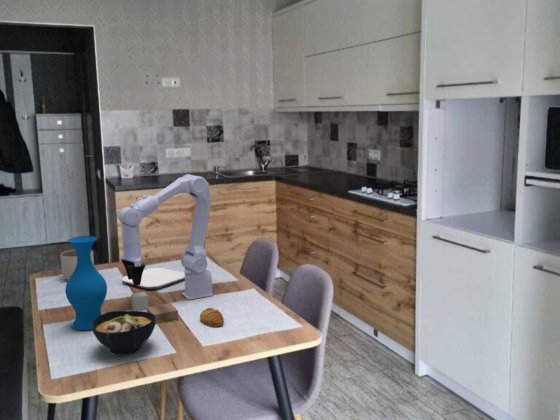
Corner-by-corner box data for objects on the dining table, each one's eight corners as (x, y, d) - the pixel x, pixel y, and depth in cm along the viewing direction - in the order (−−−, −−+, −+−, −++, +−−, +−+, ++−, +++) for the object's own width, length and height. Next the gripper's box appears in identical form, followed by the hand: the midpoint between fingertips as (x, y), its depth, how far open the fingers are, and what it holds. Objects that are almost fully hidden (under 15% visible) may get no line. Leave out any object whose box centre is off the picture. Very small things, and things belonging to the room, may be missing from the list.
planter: (72, 273, 228) (70, 248, 226) (100, 274, 226) (98, 249, 224) (56, 282, 216) (54, 256, 214) (85, 283, 214) (83, 257, 212)
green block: (145, 305, 190) (144, 291, 189) (148, 309, 186) (147, 295, 185) (132, 307, 187) (131, 293, 187) (135, 311, 184) (134, 297, 183)
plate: (157, 271, 231) (156, 266, 231) (191, 279, 219) (191, 274, 219) (117, 283, 215) (116, 278, 214) (152, 293, 203) (152, 287, 202)
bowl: (120, 333, 165) (118, 302, 163) (168, 342, 159) (167, 309, 157) (80, 356, 150) (77, 322, 148) (131, 367, 143) (129, 331, 141)
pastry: (229, 325, 171) (228, 314, 170) (209, 330, 168) (209, 318, 167) (216, 316, 179) (216, 305, 178) (197, 320, 175) (197, 309, 175)
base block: (171, 313, 183) (170, 303, 182) (178, 320, 176) (177, 310, 175) (147, 317, 179) (146, 307, 178) (154, 325, 172) (153, 315, 171)
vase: (89, 315, 180) (83, 233, 175) (117, 322, 174) (112, 237, 170) (59, 328, 170) (52, 241, 165) (88, 335, 164) (82, 245, 159)
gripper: (115, 240, 187) (117, 278, 189) (124, 249, 174) (127, 289, 177) (135, 237, 190) (138, 275, 193) (146, 246, 178) (148, 286, 180)
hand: (134, 281), depth 185 cm, fingers open, 7 cm apart
